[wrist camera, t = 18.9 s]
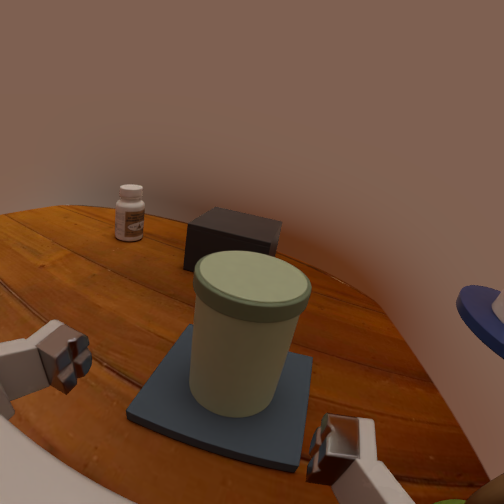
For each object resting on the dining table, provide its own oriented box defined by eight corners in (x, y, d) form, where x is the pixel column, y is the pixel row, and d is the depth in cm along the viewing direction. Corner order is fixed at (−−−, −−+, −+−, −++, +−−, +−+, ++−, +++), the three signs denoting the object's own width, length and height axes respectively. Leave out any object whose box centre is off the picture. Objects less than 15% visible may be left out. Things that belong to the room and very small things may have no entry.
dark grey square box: (274, 260, 45) (282, 221, 43) (261, 290, 36) (271, 242, 34) (210, 244, 47) (215, 206, 45) (183, 269, 38) (187, 223, 35)
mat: (309, 365, 25) (312, 357, 24) (294, 473, 15) (299, 466, 14) (188, 332, 26) (189, 323, 26) (127, 419, 16) (125, 410, 16)
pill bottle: (130, 244, 41) (132, 191, 39) (109, 236, 43) (110, 186, 40) (148, 236, 45) (152, 187, 43) (127, 229, 47) (130, 182, 44)
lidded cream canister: (295, 392, 20) (333, 284, 17) (227, 436, 16) (253, 319, 13) (235, 345, 24) (254, 243, 21) (167, 373, 20) (172, 258, 17)
